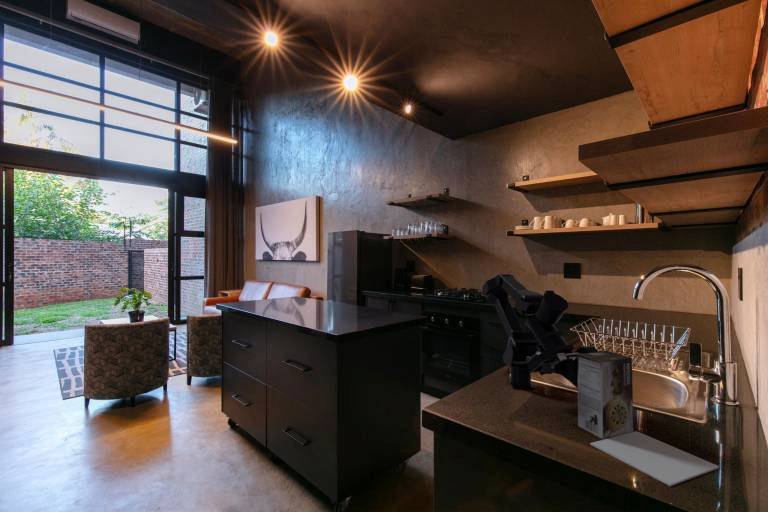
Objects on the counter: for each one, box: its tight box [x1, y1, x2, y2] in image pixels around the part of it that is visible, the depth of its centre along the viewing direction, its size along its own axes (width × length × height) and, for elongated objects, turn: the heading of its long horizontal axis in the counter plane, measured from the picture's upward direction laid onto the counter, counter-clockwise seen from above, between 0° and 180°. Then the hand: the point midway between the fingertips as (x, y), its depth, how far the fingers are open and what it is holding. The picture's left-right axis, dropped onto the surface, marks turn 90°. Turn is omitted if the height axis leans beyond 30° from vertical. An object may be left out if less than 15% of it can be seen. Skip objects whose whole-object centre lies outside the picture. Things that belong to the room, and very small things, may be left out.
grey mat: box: [589, 430, 720, 487], centre depth 66 cm, size 14×14×1 cm
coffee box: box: [577, 350, 634, 440], centre depth 76 cm, size 9×6×16 cm
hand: (585, 391), depth 80 cm, fingers closed
